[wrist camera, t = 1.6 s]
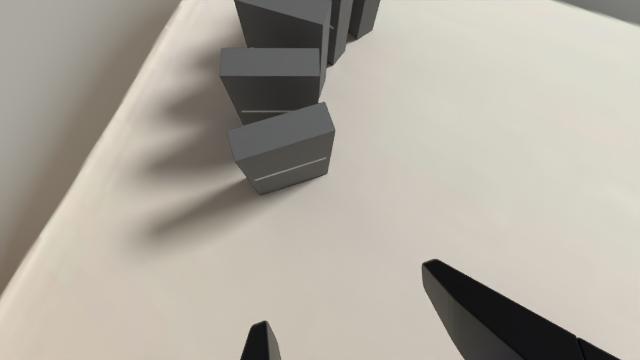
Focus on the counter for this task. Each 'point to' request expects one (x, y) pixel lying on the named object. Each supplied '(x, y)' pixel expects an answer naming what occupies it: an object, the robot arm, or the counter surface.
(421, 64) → the counter surface
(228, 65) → the domino
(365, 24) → the domino
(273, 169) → the domino
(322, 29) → the domino
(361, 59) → the counter surface
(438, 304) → the robot arm
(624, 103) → the counter surface
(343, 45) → the domino
